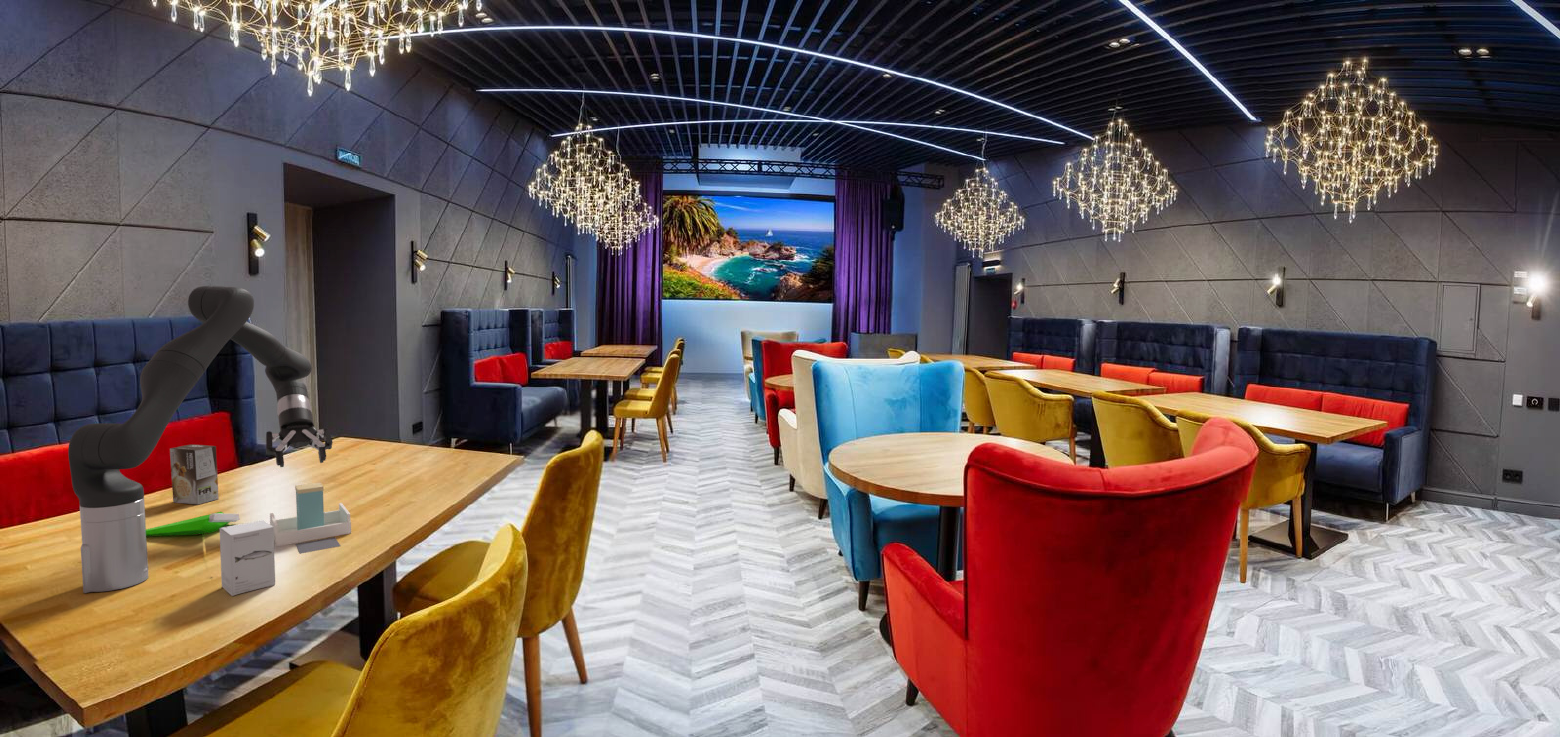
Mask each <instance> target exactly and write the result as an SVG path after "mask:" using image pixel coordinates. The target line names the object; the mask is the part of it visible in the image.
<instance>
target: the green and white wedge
mask: <svg viewBox="0 0 1560 737" xmlns="http://www.w3.org/2000/svg"><path fill="white" fill-rule="evenodd" d="M239 520H240V514H239V513H225V512H223V511H218V512H213V513H210V514H209V513H208V514H205V515H201V516H197V517H192V518H188V519H184V520H180V521H177V522H176V521H175V522H172V523H166V524H163V525H159V526H154V527H150V528H146V536H147V537H168V536H169V537H170V535H174V536H196V535H195V534H202V535H205V534H211V533H214V532H217V531H220V528H223V527H227V525H229V524H230V523H236V522H238V521H239Z"/></svg>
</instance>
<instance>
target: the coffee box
mask: <svg viewBox="0 0 1560 737" xmlns="http://www.w3.org/2000/svg"><path fill="white" fill-rule="evenodd" d="M169 456H170V457H169V458H170V474H171V488H172V489H171V490H172V491H171V492H172V503H176V504H189V505H201V504H205V503H208V502H209V503H210V502H213V501H217V500H219V499H220V498H219V482H218V480H219V479H218V476H219V475H218V461H217V460H218V459H217V446H216V445H205V444H186V445H181V446H177V447H171V448H169Z"/></svg>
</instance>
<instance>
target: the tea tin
mask: <svg viewBox="0 0 1560 737" xmlns="http://www.w3.org/2000/svg"><path fill="white" fill-rule="evenodd" d="M294 486H295V487H294V489H295V498H296V499H295V500H296V502H295V503H296V504H295V505H296V517H297V530H301V529H307V528H313V527H319V526H324V512H325V510H324V509H325V508H324V490H325V489H324V485H323V484H322V483H321V482H313V483H307V484H303V483H302V484H298V485H297V484H295V485H294Z"/></svg>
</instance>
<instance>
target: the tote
mask: <svg viewBox="0 0 1560 737" xmlns="http://www.w3.org/2000/svg"><path fill="white" fill-rule="evenodd" d="M269 524H270V525H271V526H273V527H274V546H275V547H281V546H286V545H292V544H298V543H304V542H309V541H315V540H321V539H326V538H332V537H337V536H344V535H350V534H352V522H351V513H350V511H349V510H348V509H347V507H346V506H345V505H344V504H343V503H342V502H339V503H338V509H337V510H336V509H335V510H332V511H331V510H330V511H324V526H319V527H313V528H307V529H301V530H297V516H292V517H291V516H290V517H285V518H278V519H276V517H275V515H274V513H273V512H272V513H271V512H270V513H269Z"/></svg>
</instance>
